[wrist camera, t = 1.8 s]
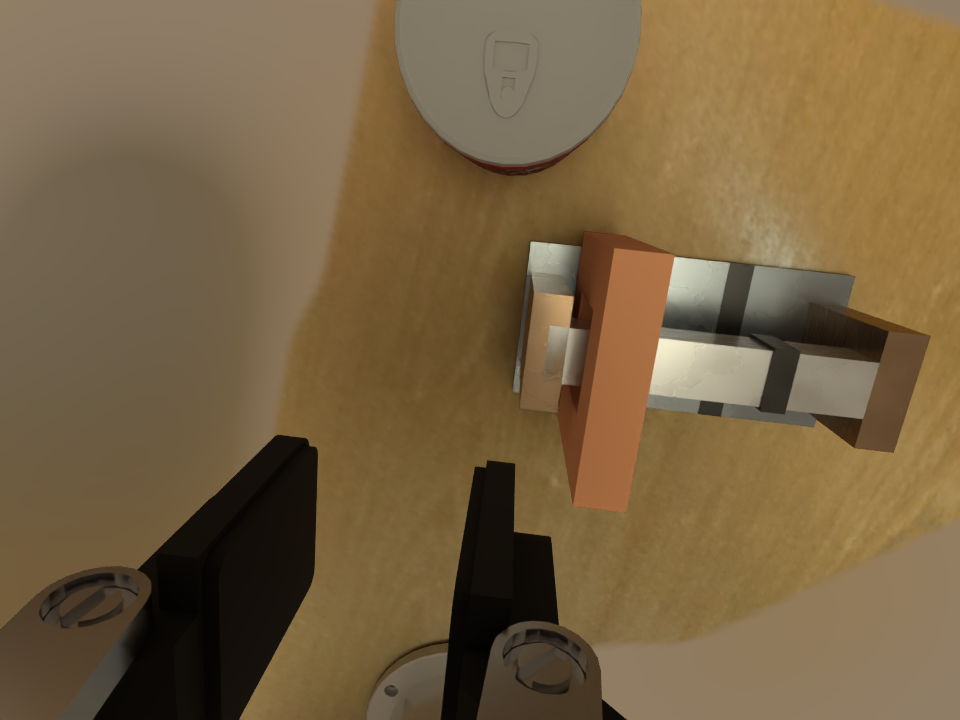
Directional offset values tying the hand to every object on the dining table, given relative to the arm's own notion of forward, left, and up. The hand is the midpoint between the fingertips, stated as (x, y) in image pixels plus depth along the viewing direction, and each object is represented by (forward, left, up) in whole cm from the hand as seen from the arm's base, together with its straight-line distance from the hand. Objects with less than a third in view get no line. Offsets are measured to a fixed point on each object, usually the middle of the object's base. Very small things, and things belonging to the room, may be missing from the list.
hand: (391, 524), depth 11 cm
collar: (0, -6, -20) cm, 21 cm away
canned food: (+11, -1, -21) cm, 24 cm away
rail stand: (0, -10, -21) cm, 24 cm away
